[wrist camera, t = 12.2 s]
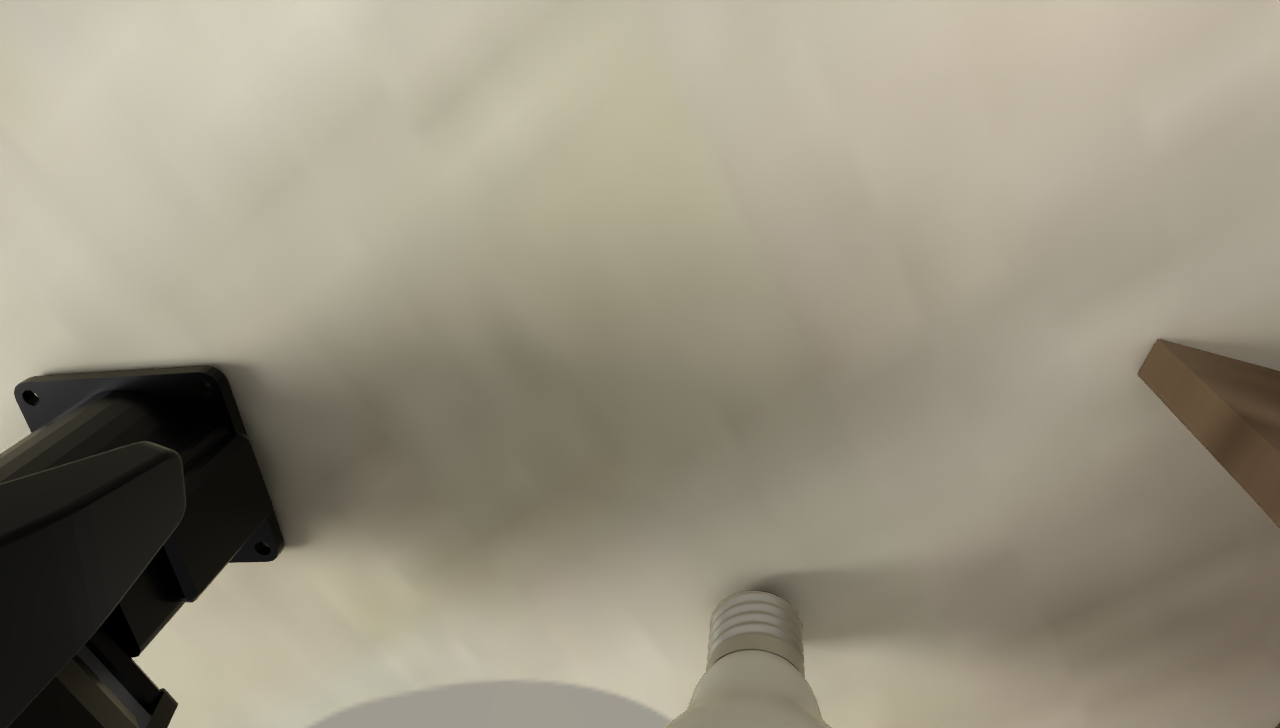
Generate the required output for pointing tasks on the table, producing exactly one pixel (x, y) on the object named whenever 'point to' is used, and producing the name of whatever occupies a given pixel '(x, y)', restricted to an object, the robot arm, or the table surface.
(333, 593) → the table surface
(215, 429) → the robot arm
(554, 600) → the table surface
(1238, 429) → the open box
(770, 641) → the lightbulb
